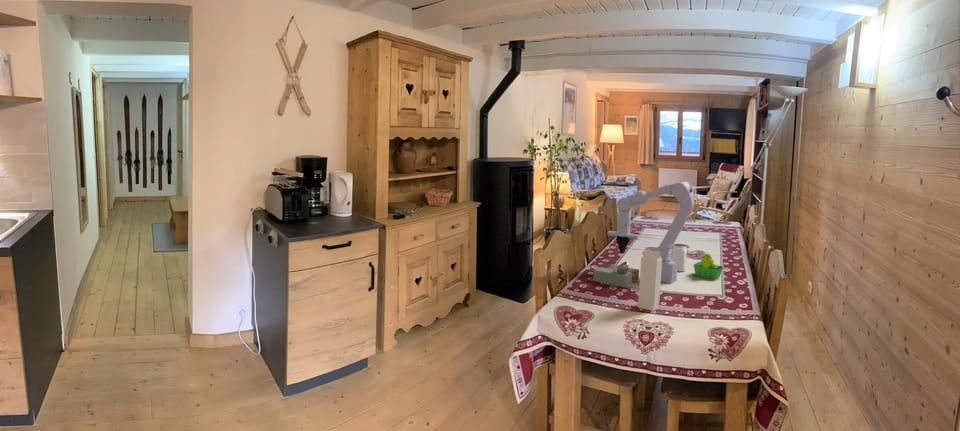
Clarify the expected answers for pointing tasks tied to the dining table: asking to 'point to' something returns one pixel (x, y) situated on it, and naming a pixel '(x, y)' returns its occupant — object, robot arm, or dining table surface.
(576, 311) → the dining table surface
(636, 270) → the jamb
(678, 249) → the can
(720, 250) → the dining table surface
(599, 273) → the grey-green rectangular block
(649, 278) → the milk
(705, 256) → the fruit basket
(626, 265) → the lock bar
